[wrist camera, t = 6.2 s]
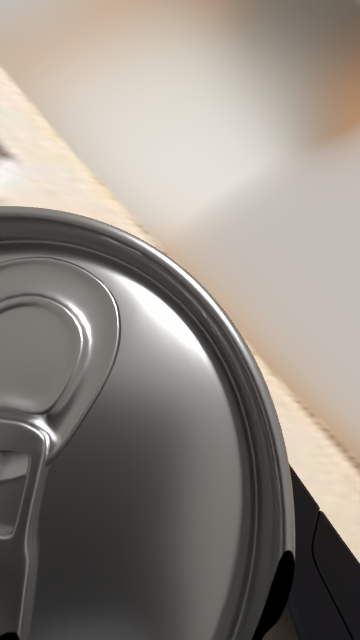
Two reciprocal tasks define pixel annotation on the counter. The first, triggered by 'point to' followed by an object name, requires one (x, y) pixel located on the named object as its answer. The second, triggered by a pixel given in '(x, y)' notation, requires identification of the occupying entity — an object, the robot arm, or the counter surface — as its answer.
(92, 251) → the can
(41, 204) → the counter surface
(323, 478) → the counter surface
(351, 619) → the robot arm
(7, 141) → the counter surface
